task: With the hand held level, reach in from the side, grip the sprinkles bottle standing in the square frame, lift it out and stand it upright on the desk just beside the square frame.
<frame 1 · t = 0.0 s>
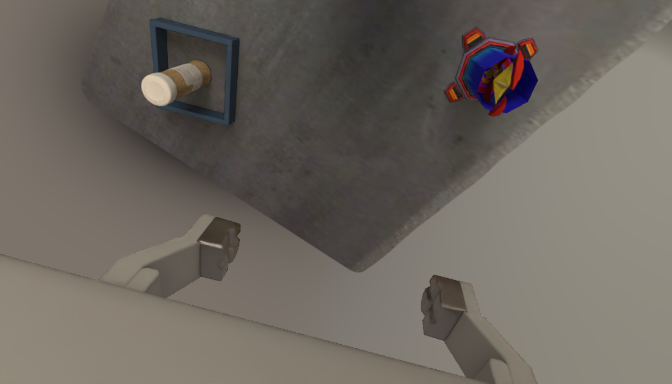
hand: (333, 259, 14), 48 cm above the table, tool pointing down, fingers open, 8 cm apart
sprinkles bottle: (200, 72, 60), resting in square frame
fantasy tower: (488, 71, 53), on the table
square frame: (200, 72, 59), on the table
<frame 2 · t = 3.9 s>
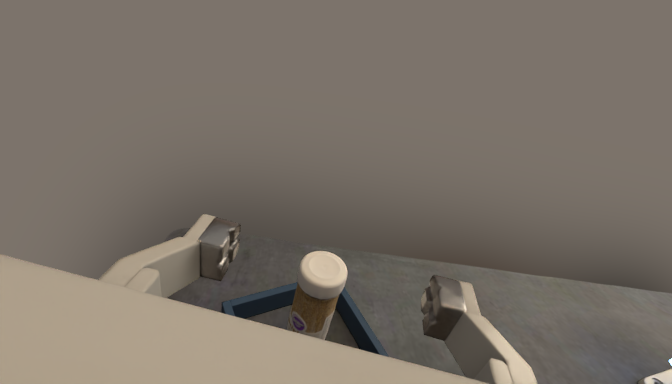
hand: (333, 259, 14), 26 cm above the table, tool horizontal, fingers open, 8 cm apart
sprinkles bottle: (301, 349, 38), resting in square frame
square frame: (302, 348, 38), on the table
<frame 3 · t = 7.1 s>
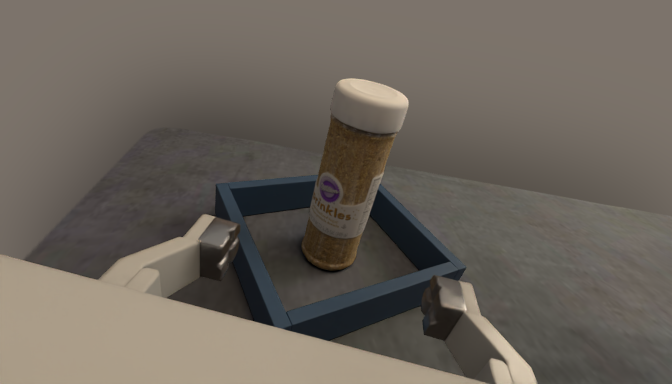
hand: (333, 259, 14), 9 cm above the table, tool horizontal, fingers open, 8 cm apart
sprinkles bottle: (328, 254, 27), resting in square frame
square frame: (328, 252, 27), on the table
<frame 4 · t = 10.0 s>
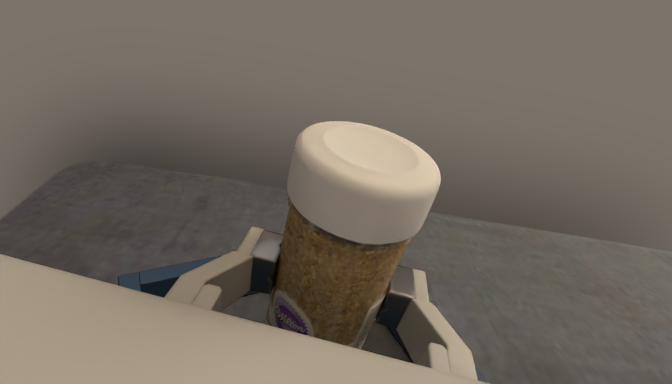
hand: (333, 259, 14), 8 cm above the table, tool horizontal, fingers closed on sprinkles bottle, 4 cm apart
sprinkles bottle: (298, 382, 17), resting in square frame, touching gripper
square frame: (299, 380, 17), on the table
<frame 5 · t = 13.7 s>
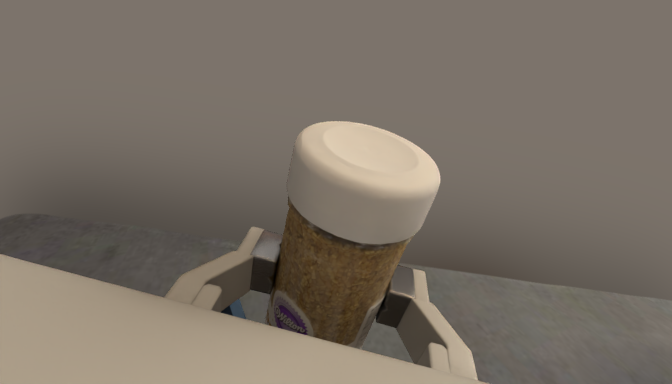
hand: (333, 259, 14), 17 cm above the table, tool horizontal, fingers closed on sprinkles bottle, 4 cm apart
sprinkles bottle: (298, 382, 17), point 9 cm above the table, touching gripper
when the fingers open (8 cm above the table, at t = 17.7 s): sprinkles bottle stays where it is, on the table.
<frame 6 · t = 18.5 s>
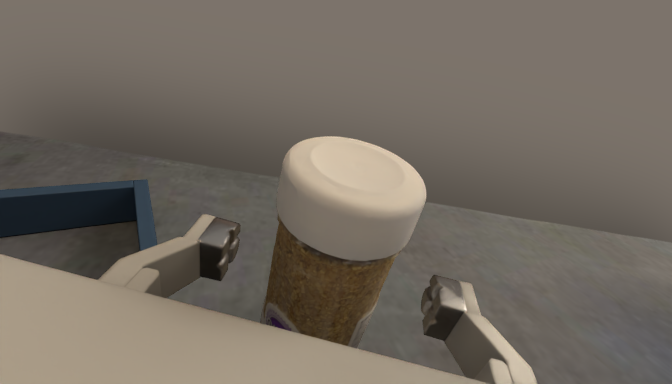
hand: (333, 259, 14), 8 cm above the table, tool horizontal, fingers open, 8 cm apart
square frame: (1, 308, 17), on the table
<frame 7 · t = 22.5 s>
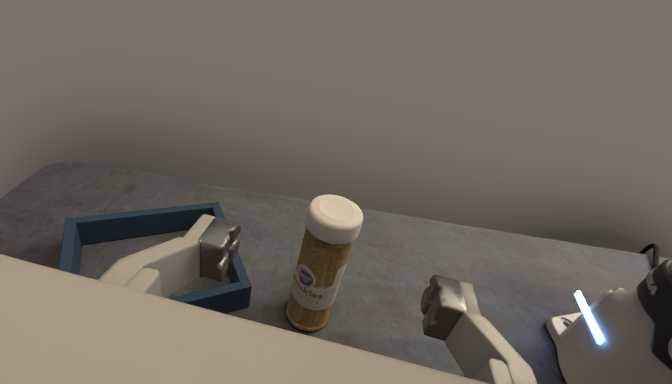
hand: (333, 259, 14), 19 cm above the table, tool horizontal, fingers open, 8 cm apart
sprinkles bottle: (307, 314, 34), on the table
square frame: (157, 272, 34), on the table
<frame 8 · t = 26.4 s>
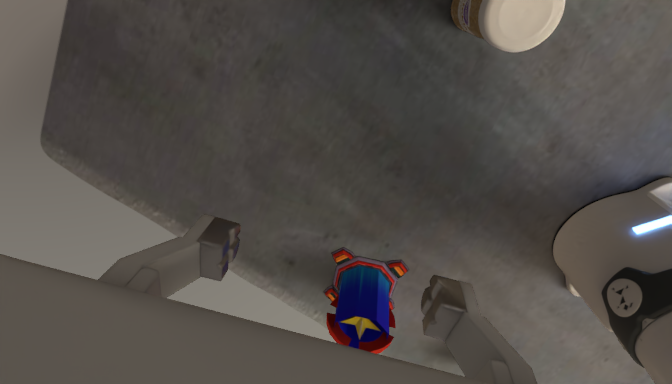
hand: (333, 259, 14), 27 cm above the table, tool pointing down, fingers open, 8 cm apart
sprinkles bottle: (474, 6, 31), on the table
fantasy tower: (364, 280, 52), on the table
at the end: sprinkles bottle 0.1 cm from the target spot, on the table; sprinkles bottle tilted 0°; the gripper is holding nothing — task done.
